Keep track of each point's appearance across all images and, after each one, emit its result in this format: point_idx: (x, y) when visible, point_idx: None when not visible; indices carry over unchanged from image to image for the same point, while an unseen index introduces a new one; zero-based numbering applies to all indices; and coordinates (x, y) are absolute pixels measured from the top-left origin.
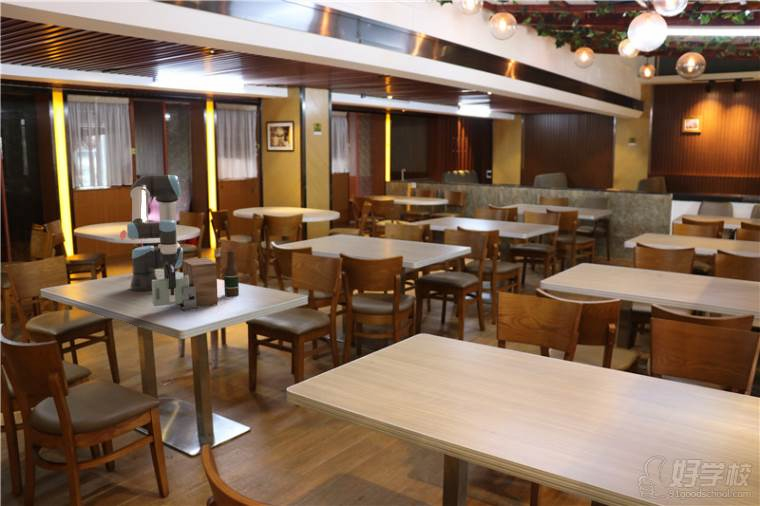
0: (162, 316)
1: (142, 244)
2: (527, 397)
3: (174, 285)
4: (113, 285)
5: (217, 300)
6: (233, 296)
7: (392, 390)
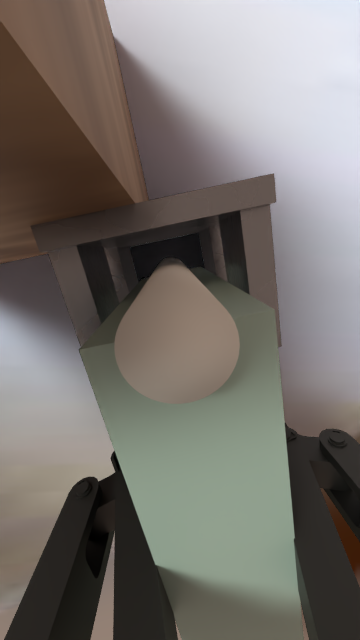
0: (287, 393)
1: None
2: None
3: (353, 462)
4: None
5: (104, 3)
6: None
7: None
